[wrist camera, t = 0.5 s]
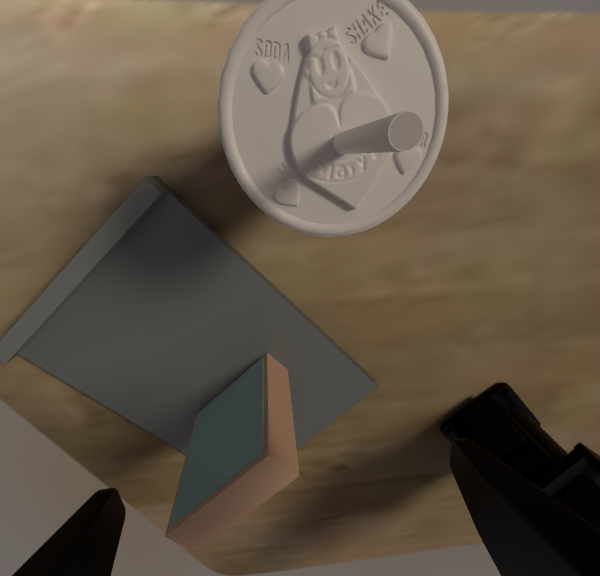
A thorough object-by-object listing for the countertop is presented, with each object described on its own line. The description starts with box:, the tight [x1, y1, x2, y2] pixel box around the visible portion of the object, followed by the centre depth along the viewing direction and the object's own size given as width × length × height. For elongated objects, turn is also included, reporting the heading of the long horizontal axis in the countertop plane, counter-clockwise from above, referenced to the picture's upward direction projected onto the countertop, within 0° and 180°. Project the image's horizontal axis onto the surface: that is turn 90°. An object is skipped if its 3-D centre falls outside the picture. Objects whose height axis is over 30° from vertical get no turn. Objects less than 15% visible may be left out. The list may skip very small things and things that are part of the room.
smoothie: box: [218, 0, 449, 236], centre depth 11 cm, size 6×6×14 cm
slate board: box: [0, 176, 378, 454], centre depth 21 cm, size 20×14×2 cm
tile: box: [165, 353, 300, 552], centre depth 19 cm, size 2×7×8 cm, turn 133°
